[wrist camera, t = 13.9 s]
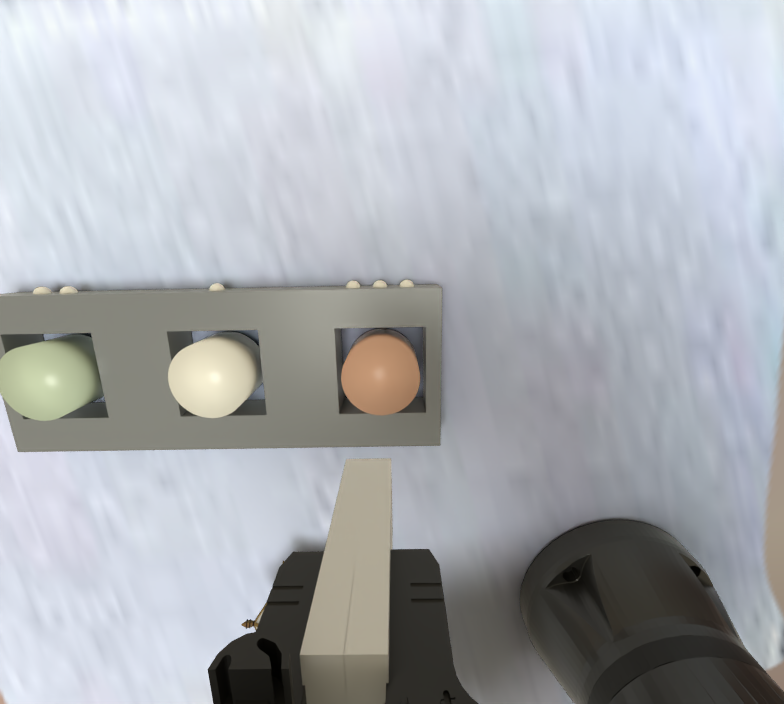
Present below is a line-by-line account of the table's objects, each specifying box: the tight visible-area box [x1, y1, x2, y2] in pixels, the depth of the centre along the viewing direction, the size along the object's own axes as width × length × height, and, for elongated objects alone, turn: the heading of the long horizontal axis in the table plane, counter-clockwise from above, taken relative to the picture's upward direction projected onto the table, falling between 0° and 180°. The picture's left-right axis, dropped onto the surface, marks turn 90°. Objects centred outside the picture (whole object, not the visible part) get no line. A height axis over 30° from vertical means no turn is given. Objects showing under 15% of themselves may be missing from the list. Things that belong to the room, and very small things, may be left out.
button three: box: [341, 329, 420, 415], centre depth 26 cm, size 5×5×4 cm
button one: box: [168, 331, 263, 418], centre depth 27 cm, size 5×5×4 cm
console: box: [0, 280, 442, 452], centre depth 28 cm, size 30×11×3 cm, turn 91°
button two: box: [0, 334, 104, 421], centre depth 27 cm, size 5×5×4 cm
